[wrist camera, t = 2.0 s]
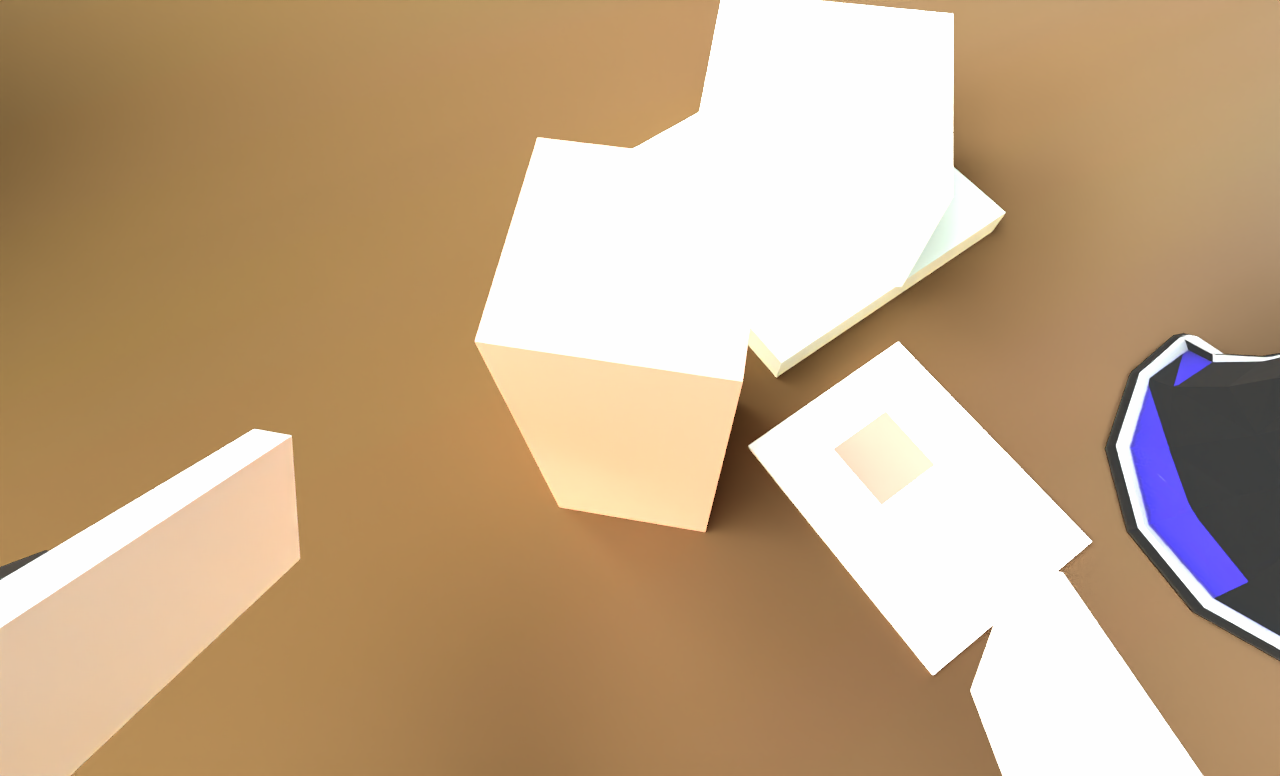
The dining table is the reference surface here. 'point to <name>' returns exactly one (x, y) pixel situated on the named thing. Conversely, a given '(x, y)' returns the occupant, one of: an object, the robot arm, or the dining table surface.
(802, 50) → the base brick
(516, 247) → the tall brick
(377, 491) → the dining table surface
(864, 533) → the page
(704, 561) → the dining table surface
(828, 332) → the plate
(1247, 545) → the figurine
